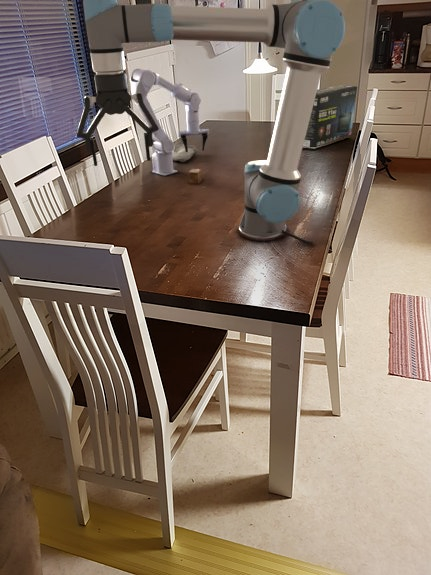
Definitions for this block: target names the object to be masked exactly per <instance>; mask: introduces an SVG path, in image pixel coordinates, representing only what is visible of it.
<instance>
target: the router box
mask: <svg viewBox="0 0 431 575" xmlns="http://www.w3.org/2000/svg"><path fill="white" fill-rule="evenodd" d="M357 93H358V86H356V85H350V84H339V85H338V84H337V85H334V86H328V87H324V88H317V92H316V96H315V100H314V104H313V108H312V112H311V116H310V120H309V124H308V128H307V132H306V136H305V140H304V144H303V146H307V147H317V146H320V145H323V144H325V143H328V142H331V141H333V140H336V139H338V138H341V137H344V136H347V135H351V136H352V133H353V132H352V131H353V125H354V115H355V109H356V99H357ZM311 151H313V150H312V149H311Z"/></svg>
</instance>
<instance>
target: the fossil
mask: <svg viewBox="0 0 431 575" xmlns="http://www.w3.org/2000/svg"><path fill="white" fill-rule="evenodd" d="M187 149H188V152H186V151H185V147H184V144H183V142H182V143H181V142H176V143H175V144H174V150H173V151H172V159H173V162H177V161H179V162H180V163H185V162H187V161H188V160H190V159H191V158H192V157H193V156H194V155H197V154H198V153H199V150H198V148H197V146H195V145H187Z"/></svg>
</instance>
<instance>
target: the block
mask: <svg viewBox="0 0 431 575" xmlns="http://www.w3.org/2000/svg"><path fill="white" fill-rule="evenodd" d="M187 174H188V183H189V184H195V185H196V184H197V185H198V184H200V183H201V182H202V180H203V176H202V169H201V168H190V170H189V171H188V172H187Z"/></svg>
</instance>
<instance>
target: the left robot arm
mask: <svg viewBox="0 0 431 575" xmlns="http://www.w3.org/2000/svg"><path fill="white" fill-rule="evenodd" d="M129 82H130V85H131V94H135V93H137V92H140V93H141V95H142V98H143V103H144V104H145V106H146V108H147V109H148V111H149V113H150V114H151V116H152V118H153V119H154V121H155V123H156V124H157V126H158V128H159V130H158V131H155V132H153V133H152V139H153V147H152V148H153V149H154V150H155V151H154V153H153V154H152V156H151V161H152V162H151V163H152V170H151V172H152V173H153V174H157V175H161V176H164V177H165V176H168V175H172V174H176V173H178V170H176V169H174V160H173V159H172V151H173V150H174V147H175V143H174V141H173V140H172V139H171V138H170V137H169V135H168V134H167V133H166V132H165V131H164V129H163V127H162V126H161V124H160V122H159V120H158V117H157V115H156V113H155V111H154V109H153V107H152V106H151V103H150V101H149V99H148V94H149V92H150V91H151V89H152V88H153V86H159V87H161V89H164V90H166V91H168V92H170V96H171V97H173V98H174V99H176V100H178V101H180V102H181V103H182V104H183V105H185V118H186V129H185V130H180V131H177V137H178V138H180V139H181V141H182V143H183V144H184V147H185V151H186V152H188V149H187V147H188V138H187V136H199V135H200V141H201V142H200V143H201V148H200V149H201V151H202V152H204V151H205V146H206V142H207V140H208V138H209V135H210V128H200V113H199V109H200V104H201V101H202V99H201V97H200V95H199V93H197V92H193V91H192V89H190V88H186V87H185V86H184V84H183V83H182V82H176V83H172V82H171V81H170V80H168V79H166V78H165V77H163V76H161V75H160V74H158V73H157V72H154V71H152V70H150V69H141V68H135V69H133V70H132V72H131V75H130V77H129ZM133 102H134V103H135V106H136V108H137V110H138V111H139V113H140V116H141V118H142V120H143V122H144V123H145V124H146V125H147V126H148V127H151V126H152V125H151V124H150V122H149V120H148V119H147V117H146V115H145V114H144V112H143V110H142V109H141V107H140V105H139V103H136V102H135V101H134V100H133Z"/></svg>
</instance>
